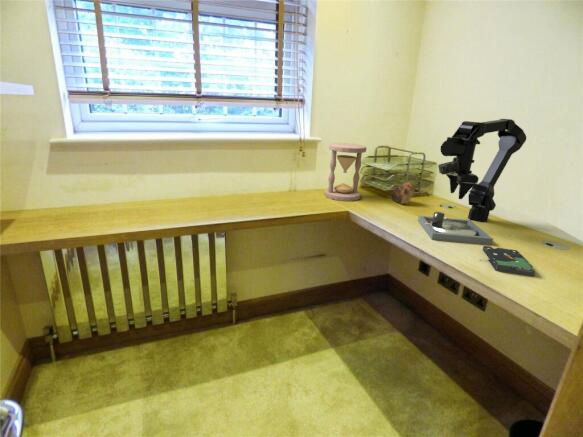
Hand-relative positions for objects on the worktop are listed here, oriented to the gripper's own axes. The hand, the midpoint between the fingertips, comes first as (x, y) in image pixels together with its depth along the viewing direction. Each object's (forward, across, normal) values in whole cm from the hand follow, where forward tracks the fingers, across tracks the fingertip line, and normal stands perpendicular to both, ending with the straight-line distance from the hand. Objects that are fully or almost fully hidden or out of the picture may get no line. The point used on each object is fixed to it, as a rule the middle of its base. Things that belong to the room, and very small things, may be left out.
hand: (455, 195), depth 136 cm
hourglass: (+12, -31, -42) cm, 54 cm away
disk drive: (+13, +34, +6) cm, 37 cm away
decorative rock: (+12, -28, -14) cm, 34 cm away
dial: (+11, +11, -3) cm, 16 cm away
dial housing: (+12, +11, -3) cm, 17 cm away
